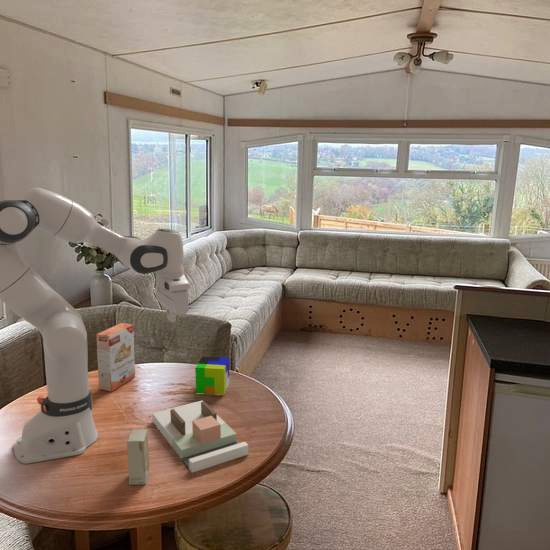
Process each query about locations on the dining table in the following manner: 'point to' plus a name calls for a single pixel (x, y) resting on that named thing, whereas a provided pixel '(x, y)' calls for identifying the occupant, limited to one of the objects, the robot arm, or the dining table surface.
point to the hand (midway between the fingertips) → (171, 320)
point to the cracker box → (115, 356)
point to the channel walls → (180, 423)
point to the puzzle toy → (212, 375)
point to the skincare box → (138, 457)
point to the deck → (189, 445)
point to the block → (206, 430)
